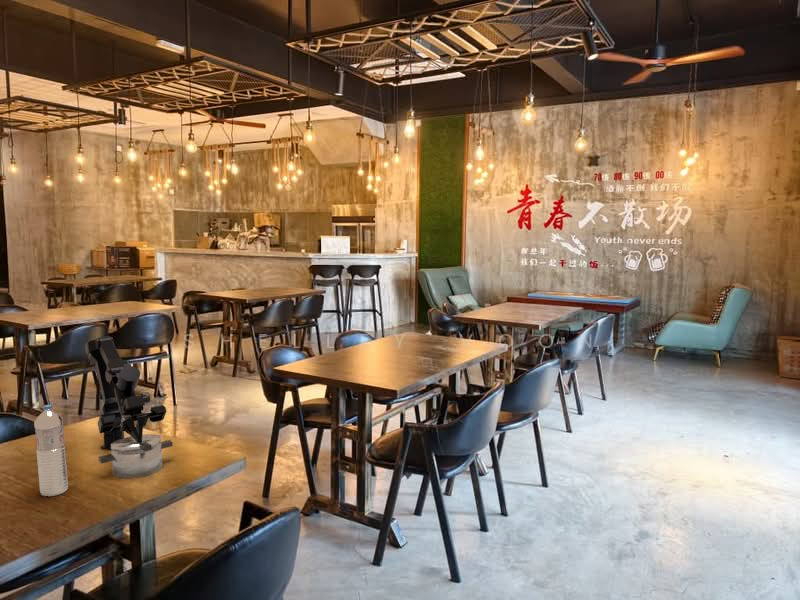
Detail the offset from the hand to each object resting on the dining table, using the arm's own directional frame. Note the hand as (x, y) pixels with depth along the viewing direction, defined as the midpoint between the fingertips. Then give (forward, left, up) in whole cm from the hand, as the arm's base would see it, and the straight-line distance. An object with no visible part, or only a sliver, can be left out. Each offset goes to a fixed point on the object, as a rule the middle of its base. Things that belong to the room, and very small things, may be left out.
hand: (140, 442), depth 172 cm
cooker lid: (-1, -1, -1) cm, 2 cm away
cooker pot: (-3, -3, -10) cm, 10 cm away
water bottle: (+15, -17, -10) cm, 25 cm away
